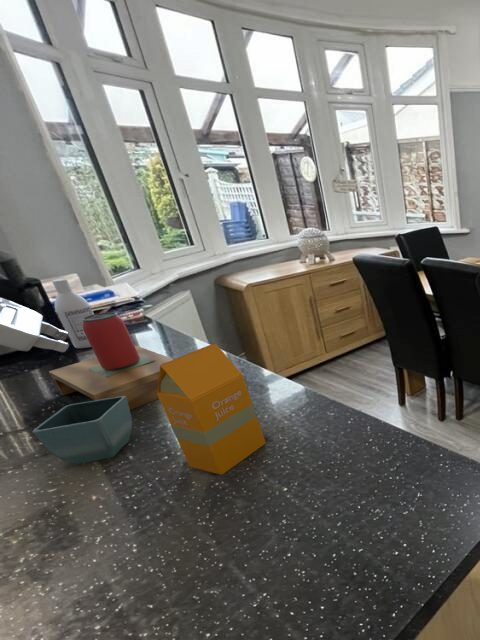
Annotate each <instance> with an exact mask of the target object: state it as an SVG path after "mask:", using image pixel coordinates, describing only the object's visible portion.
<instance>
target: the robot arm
mask: <svg viewBox="0 0 480 640" xmlns="http://www.w3.org/2000/svg"><path fill="white" fill-rule="evenodd" d="M43 318H44V315H42V314H41V313H39V312H38V311H35V310H33V309H32V308H31V309H30V308H29V307H26V306H23V305H21V304H19V303H16V302H14V301H12V300H9V299H6V298H3V297H0V346H2V347H5V348H9V349H13V350H16V351H20V352H30V350H31V349H32V348H33V347H35V348H39V349H44V350H45V349H46V350H53V351H56V352H58V353H59V352H60V353H65V352H66V351H67V350H68V348H69V347H70V344H69V342H66V341H65V340H67V338H69V336H68V335H69V334H68V332H66V330H63V329H60V328H58V327H56V326H54V325H52V324H50V323H49V322H46V321H43ZM42 334H44V335H42ZM46 335H47V336H50V337H52V338H49V337H47V336H46ZM53 338H54V339H53Z"/></svg>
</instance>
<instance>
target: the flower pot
mask: <svg viewBox="0 0 480 640" xmlns="http://www.w3.org/2000/svg"><path fill="white" fill-rule="evenodd" d="M132 430H133V418H132V414H131V410H129V406H128V402H127V399H126V396H120V397H113V398H107V399H101V400H95V401H94V400H89V401H83V402H77V403H70V404H67V405H65V406H63V407H62V408H61V409H59V410H58V411H56V412H55V413H54V414H53V415H51V416H50V417H48V418H47V419H46V420H45V421H43V422H42V423H41V424H40V425H38V426H37V427H35V428H34V429H32V431H31V433H32V434H33V435H34V436H35V437H36V438H37V439H38V440H39V441H40V443H41V444H42V445H43V446H44V447H45V448H46V449H47V450H48V451H49V453H51V454H52V455H54V456H55V457H57V458H59V459H60V460H61V461H64V462H68V463H70V464H74V465H80V464H85V463H91V462H95V461H101V460H106V459H112V458H114V457H116V455H117V454H118V453H119V452H120V451H121V450H122V448H123V447H125V445H126V444H128V443H129V441H130V439H131V438H130V437H131V434H132Z"/></svg>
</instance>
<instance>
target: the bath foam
mask: <svg viewBox="0 0 480 640" xmlns="http://www.w3.org/2000/svg"><path fill="white" fill-rule="evenodd" d="M51 282H52V285H53V287H54V288H55V291H56V292H57V295H56V297H55V300H54V310H55V312H56V313H55V314H56V316H57V317H58V319H59V320H60V323H61V324H62V327H63V328H64V329H65V330H64V331H66V332H68V334H69V335H68V338H69V340H70V342H71V343H72V345H73V347H74V348H75V349H88V348H92V347H91V345H90V343H89V341H88V339H87V337H86V335H85V333H84V331H83V321H82V319H83V318H84V317H87V316H90V315H94V314H95V313H94V311H93V309H92V307H91V305H90V304H89V302H88V301H87V300H86V298H84V297H83V296H81V295H80V294H78V293H77V292H75V291H74V290H73V289H72V287H71V285H70V283H69V280H68V279H67V278H59V279H53V280H52V281H51Z"/></svg>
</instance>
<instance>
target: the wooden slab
mask: <svg viewBox="0 0 480 640" xmlns="http://www.w3.org/2000/svg"><path fill="white" fill-rule="evenodd" d="M134 346H135V348H136V350H137V353H138V355H139V357H140V360H139V361H138V362H137V363H135V364H134V365H131V366H129V367H126V368H122V369H117V370H105V369H103V368H102V367H101V365H100V363H99V361H98V359H97V357H96V356H95V357H93V358H89V359H86V360H83V361H79V362H76V363H73V364H69V365H66V366H65V365H64V366H62V367H59V368H56V369H53V370H49V371H48V373H49V375H50V376H51V378H52V380H53V382H54V383H55V386H56V387H57V389H58V391H59V393H60V395H62V396H67V395H69V394H73V393H76V392H79V393H81V394H82V395H84V396H86V397H88V398H90V399H91V400H93V401H95V400H101V399H107V398H113V397H120V396H126V399H127V402H128V406H129V410H130V411H132V410H135V409H137V408H139V407H142V406H145V405H148V404H149V403H152V402H154V401H157V400H159V397H158V395H157V390H158V381H159V373H160V365H162V364H164V363H166V362H169V361H171V360H174V359H175V358H172V357H170V356H166V355H164V354H161V353H158V352H155V351H152V350H149V349H147V348H144V347H141V346H138V345H134Z"/></svg>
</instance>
